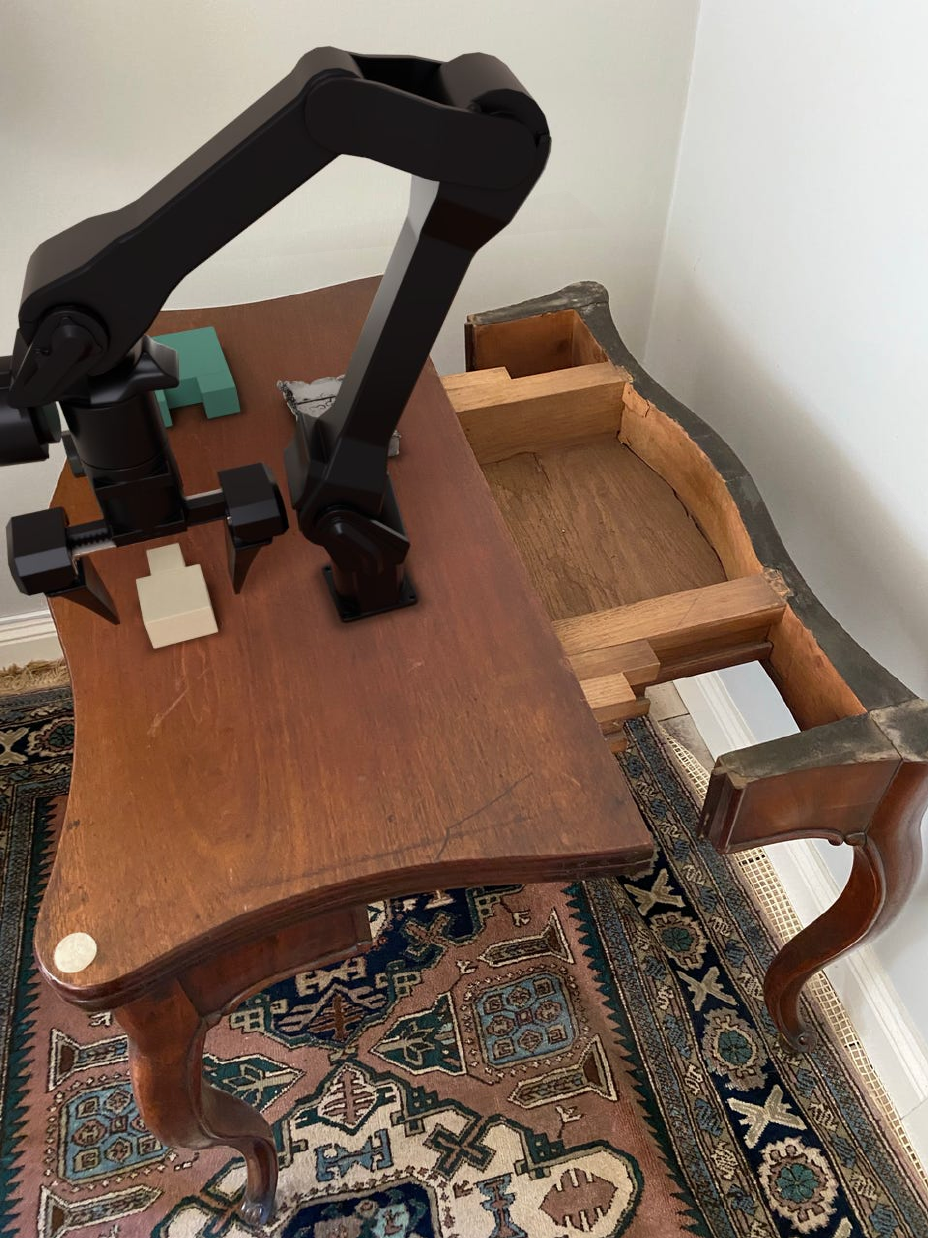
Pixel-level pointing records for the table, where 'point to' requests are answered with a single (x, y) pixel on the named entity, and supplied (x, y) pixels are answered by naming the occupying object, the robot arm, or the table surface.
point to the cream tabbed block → (174, 599)
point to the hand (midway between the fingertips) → (177, 605)
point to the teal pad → (198, 375)
